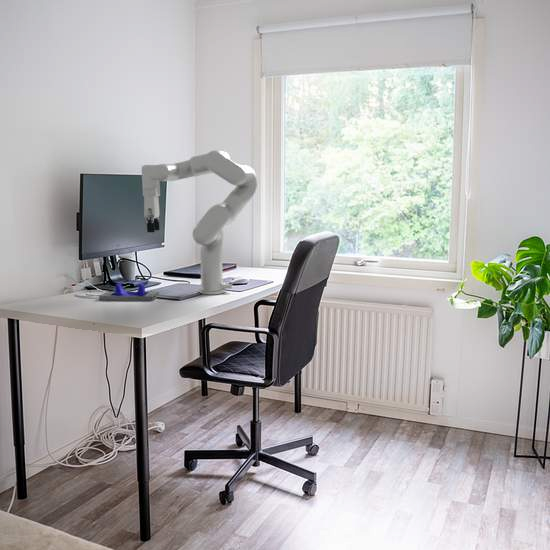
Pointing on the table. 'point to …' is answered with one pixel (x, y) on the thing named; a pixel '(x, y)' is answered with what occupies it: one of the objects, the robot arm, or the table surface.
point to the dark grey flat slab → (128, 297)
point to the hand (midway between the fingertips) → (153, 231)
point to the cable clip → (122, 293)
